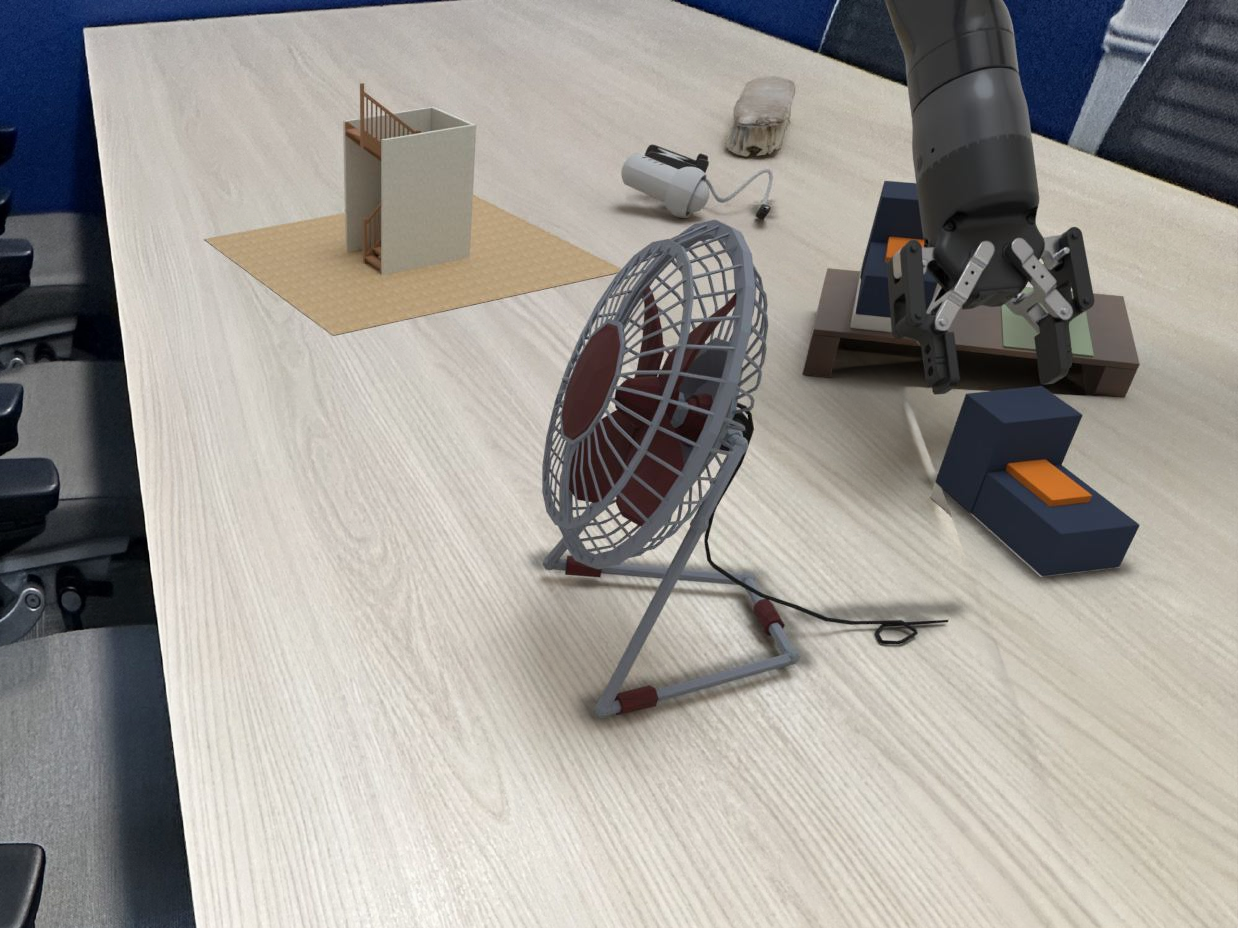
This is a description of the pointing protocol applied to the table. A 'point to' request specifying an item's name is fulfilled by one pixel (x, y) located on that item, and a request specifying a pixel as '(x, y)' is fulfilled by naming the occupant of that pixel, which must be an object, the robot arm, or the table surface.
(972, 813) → the table surface
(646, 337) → the desk fan
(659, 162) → the clip-on lamp
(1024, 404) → the trainer
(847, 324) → the shoe rack
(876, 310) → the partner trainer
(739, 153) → the shoe brush
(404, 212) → the staircase
